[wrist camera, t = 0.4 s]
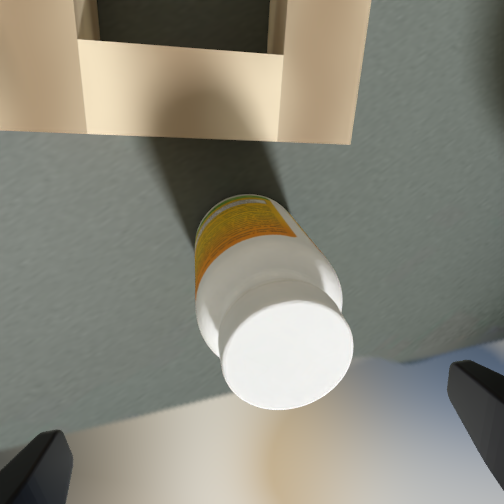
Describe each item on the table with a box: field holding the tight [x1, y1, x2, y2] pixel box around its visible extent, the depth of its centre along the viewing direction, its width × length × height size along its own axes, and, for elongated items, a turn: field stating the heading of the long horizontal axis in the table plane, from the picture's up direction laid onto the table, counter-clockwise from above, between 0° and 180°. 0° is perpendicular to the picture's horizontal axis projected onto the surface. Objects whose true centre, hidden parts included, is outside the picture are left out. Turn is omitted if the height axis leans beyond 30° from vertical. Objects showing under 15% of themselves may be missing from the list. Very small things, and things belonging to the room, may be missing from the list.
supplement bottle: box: [195, 194, 353, 410], centre depth 15 cm, size 5×5×10 cm
